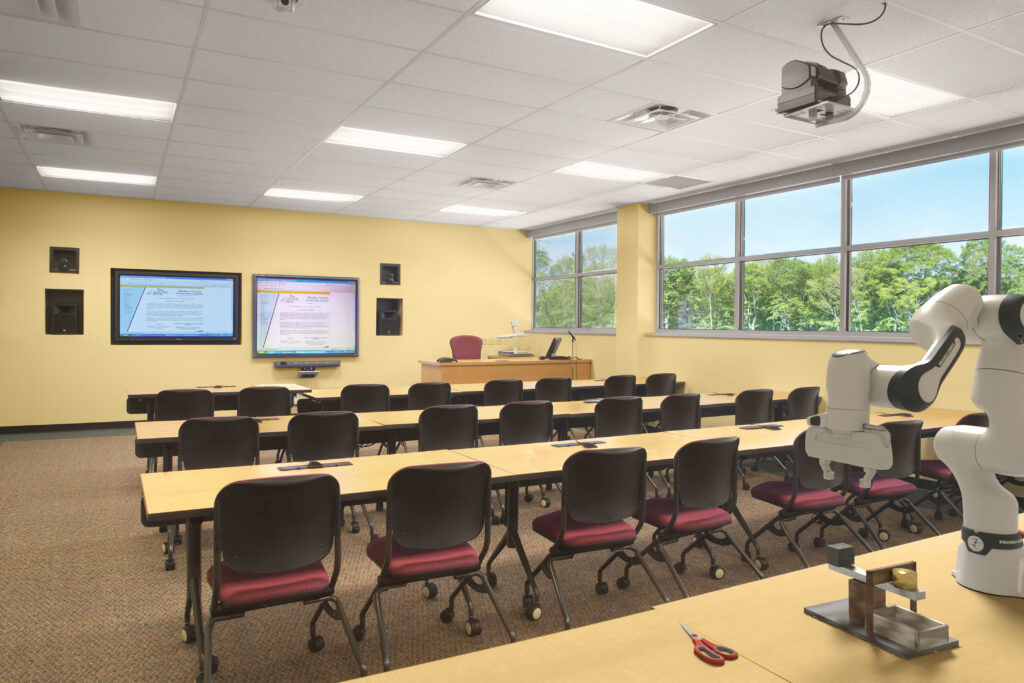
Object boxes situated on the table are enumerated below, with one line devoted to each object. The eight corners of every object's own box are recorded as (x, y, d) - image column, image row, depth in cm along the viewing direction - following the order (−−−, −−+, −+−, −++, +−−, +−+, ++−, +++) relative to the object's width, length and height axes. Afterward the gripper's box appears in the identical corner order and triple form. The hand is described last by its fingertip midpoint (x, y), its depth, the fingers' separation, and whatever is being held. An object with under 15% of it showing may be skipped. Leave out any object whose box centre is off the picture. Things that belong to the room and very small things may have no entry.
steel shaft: (825, 569, 148) (825, 544, 148) (841, 566, 150) (841, 542, 150) (911, 601, 129) (911, 573, 129) (928, 597, 131) (928, 570, 131)
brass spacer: (902, 581, 136) (901, 567, 136) (922, 588, 132) (922, 573, 132) (887, 584, 134) (887, 570, 134) (907, 592, 130) (907, 577, 130)
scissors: (678, 619, 145) (678, 612, 145) (745, 662, 126) (745, 654, 126) (649, 625, 142) (649, 618, 142) (712, 669, 123) (712, 662, 123)
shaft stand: (803, 612, 147) (803, 549, 147) (851, 601, 153) (851, 540, 153) (907, 660, 125) (906, 585, 125) (958, 645, 131) (958, 574, 131)
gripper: (900, 426, 139) (899, 491, 139) (820, 416, 158) (819, 474, 158) (879, 427, 137) (878, 493, 137) (801, 417, 156) (800, 475, 155)
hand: (846, 483), depth 147 cm, fingers open, 8 cm apart
